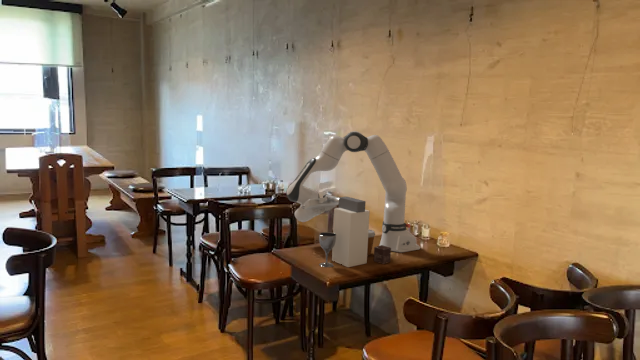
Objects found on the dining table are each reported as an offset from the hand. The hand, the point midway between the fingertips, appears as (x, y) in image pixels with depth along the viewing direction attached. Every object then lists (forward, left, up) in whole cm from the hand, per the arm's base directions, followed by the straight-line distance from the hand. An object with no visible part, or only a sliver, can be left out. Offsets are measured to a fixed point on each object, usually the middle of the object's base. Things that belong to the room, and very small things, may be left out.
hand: (330, 197), depth 251 cm
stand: (-4, +16, -29) cm, 33 cm away
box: (-20, +20, -29) cm, 41 cm away
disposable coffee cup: (-18, +6, -29) cm, 35 cm away
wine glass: (+8, +17, -29) cm, 35 cm away
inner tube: (-2, +7, -2) cm, 8 cm away
